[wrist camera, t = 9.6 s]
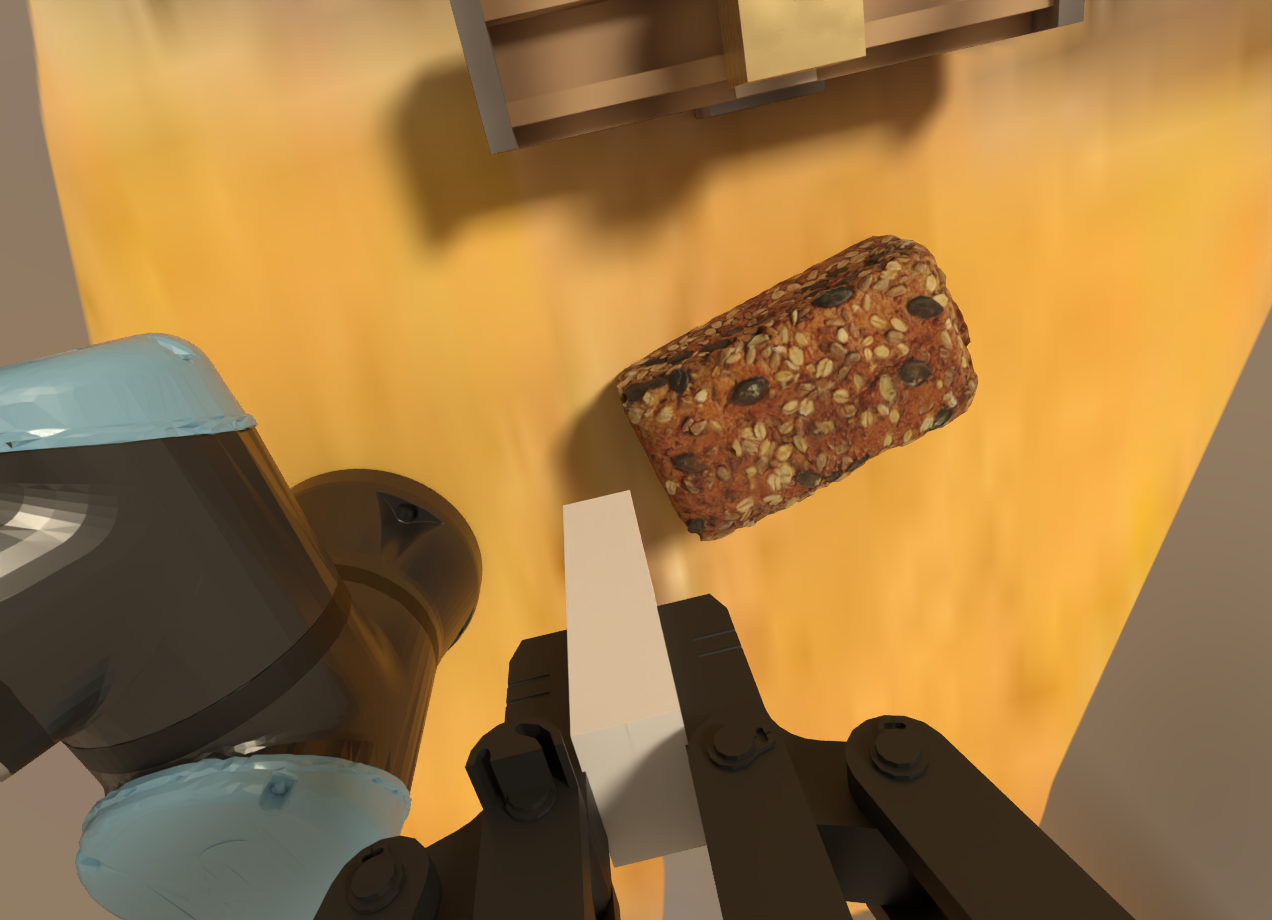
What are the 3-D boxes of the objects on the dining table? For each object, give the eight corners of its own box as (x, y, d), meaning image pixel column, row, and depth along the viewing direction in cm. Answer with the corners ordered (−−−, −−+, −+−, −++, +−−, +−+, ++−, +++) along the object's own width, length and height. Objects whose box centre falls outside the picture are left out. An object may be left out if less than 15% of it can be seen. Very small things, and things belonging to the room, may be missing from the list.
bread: (675, 490, 49) (703, 569, 40) (605, 360, 44) (619, 415, 35) (923, 368, 47) (1011, 422, 38) (875, 220, 43) (963, 240, 34)
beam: (504, 162, 39) (494, 166, 32) (460, -5, 35) (438, -41, 29) (989, 53, 39) (1082, 33, 32) (991, -123, 36) (1096, -186, 29)
